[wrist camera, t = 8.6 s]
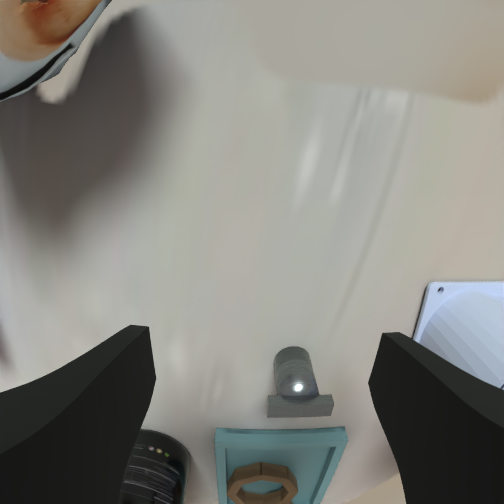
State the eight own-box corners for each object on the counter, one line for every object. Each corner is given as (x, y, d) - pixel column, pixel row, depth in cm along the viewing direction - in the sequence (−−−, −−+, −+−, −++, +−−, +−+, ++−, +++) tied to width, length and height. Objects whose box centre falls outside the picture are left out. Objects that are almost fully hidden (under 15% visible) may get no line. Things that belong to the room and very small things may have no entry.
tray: (344, 426, 23) (348, 439, 21) (315, 499, 27) (317, 509, 25) (216, 427, 22) (214, 441, 21) (220, 500, 26) (219, 510, 25)
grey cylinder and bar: (321, 346, 20) (336, 394, 15) (315, 374, 21) (328, 423, 16) (266, 345, 20) (269, 396, 15) (263, 374, 21) (266, 425, 16)
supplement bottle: (179, 476, 25) (161, 576, 14) (114, 451, 24) (79, 549, 13) (202, 444, 23) (185, 567, 12) (126, 415, 22) (81, 533, 11)
